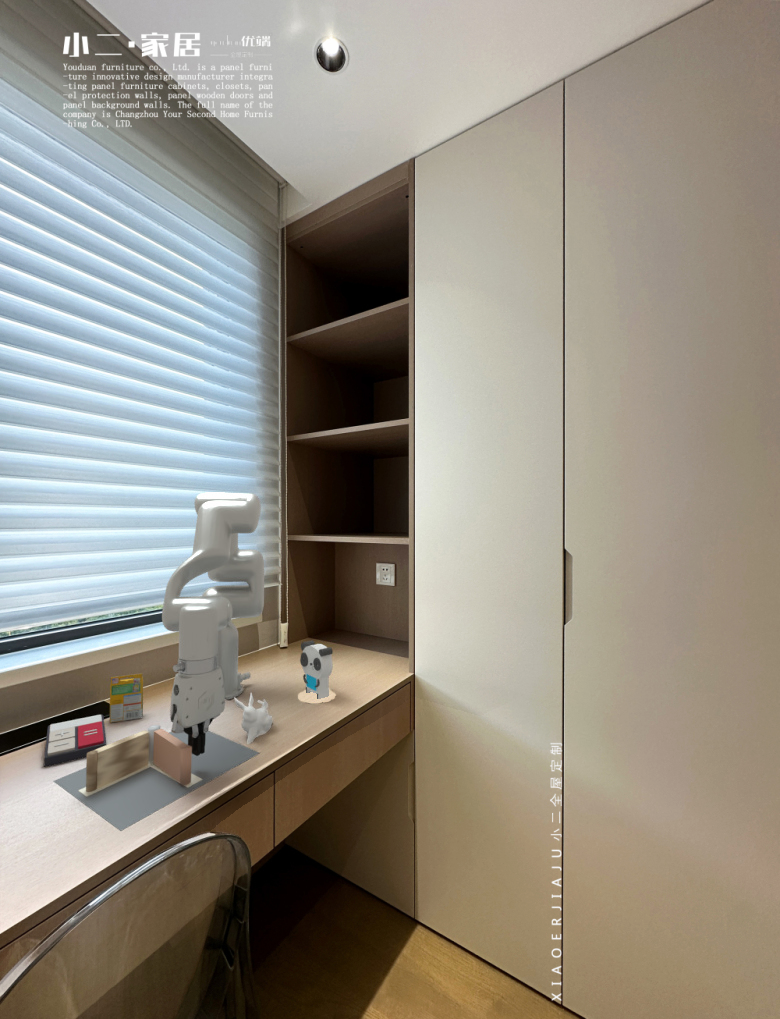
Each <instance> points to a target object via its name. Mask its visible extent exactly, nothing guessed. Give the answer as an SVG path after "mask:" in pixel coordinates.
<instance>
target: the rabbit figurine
mask: <svg viewBox="0 0 780 1019" xmlns="http://www.w3.org/2000/svg"><path fill="white" fill-rule="evenodd" d="M233 699H234V704H235V706H236V707H238V708H239V709H241V710H243V714H242V722H241V728H242V730H243V731H244V732H246V736H247V739H246V744H249V745H250V744H252V743H253V742H254V740H255V738H258V737H260V736H262V735H265V734H266V733H267V732H269V731H270V729H271V728H272V725H273V722H274V721H273V716H272V715H270V713H269V711H268V708H269V704H268V701H266V698H263V700H260V699H258V700H257V703H258V704H260V705H261V706H260V707H259V708H255V707H254V705H253V704H254V701H255V699H254V696H253V693H252V692H250V694H249V699H248V706H246V705H245V704H244V703H243V702H242V701H240V700H238V698H237V697H235V698H233Z"/></svg>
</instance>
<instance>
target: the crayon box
mask: <svg viewBox="0 0 780 1019" xmlns="http://www.w3.org/2000/svg"><path fill="white" fill-rule="evenodd" d="M109 692H110V693H109V723H110V724H112V723H111V722H113V723H117V722H124V721H130V720H137V719H142V718H143V714H144V707H143V706H144V677H143V673H142V672H141V673H134V674H126V675H125V674H124V675H118V676H117V675H116V676H111V677H110V685H109Z"/></svg>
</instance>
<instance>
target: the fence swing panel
mask: <svg viewBox="0 0 780 1019" xmlns="http://www.w3.org/2000/svg"><path fill="white" fill-rule="evenodd" d="M161 727H162V726H161V725H159V724H153V725H150V726H149V727H147V731H148V732H149V758H148V761H149V762H153V763H154V764H156V765H157V766H158V767H160V768H161V769H162V770H164V771H165V772H166V773H168V774H169V775H170V776H172V777H173V778H174V779H176V780H177V781H178V782H180V784H181V785H187V784H189V783H190V782H191V762H192V747H191V746H188V745H187V744H185V743H184V742H182V741H180V740H179V739H177V738H176V737H174V736H173V735H171V734H169V732H168V731H166V730H164V729H163V728H161Z"/></svg>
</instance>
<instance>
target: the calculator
mask: <svg viewBox="0 0 780 1019" xmlns="http://www.w3.org/2000/svg"><path fill="white" fill-rule="evenodd" d="M104 719H105V718H104V715H103V714H96V715H92V716H86V717H82V718H75V719H72V720H67V721H62V722H57V723H51V724H50V725H47V730H46V731H47V733H46V738H45V740H46V741H45V748H44V757H43V758H44V759H43V760H44V762H43V765H44V767H45V768H47V767H52V766H55V765H56V766H57V765H60V764H61V765H62V764H65V763H68V762H72V761H77V760H81V759H85V758H86V759H87V753H88V752H90V751H94V750H96V749H98V748H101V747H103V746H106V745H108V744H107V736H106V726H105V720H104Z"/></svg>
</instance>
